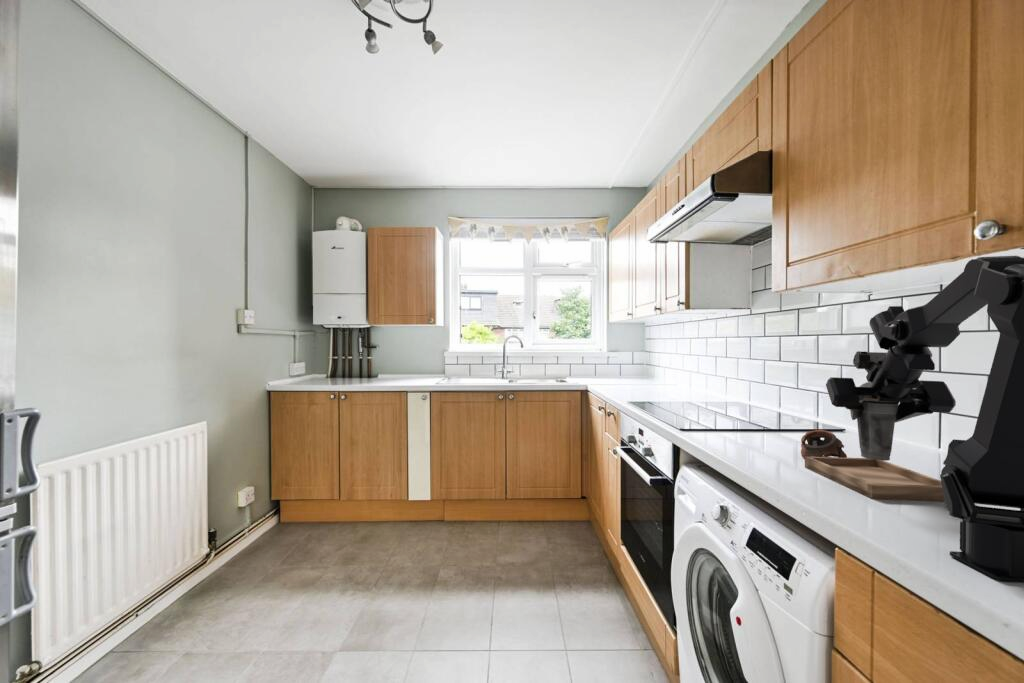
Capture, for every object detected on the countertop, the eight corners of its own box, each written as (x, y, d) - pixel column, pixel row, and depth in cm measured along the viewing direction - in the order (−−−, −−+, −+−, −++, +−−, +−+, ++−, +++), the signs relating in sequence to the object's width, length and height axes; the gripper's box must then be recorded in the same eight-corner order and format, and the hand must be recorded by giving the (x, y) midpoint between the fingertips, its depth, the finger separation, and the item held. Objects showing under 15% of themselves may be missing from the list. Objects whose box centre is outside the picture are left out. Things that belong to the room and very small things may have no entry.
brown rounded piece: (860, 467, 103) (850, 439, 101) (820, 482, 104) (809, 455, 103) (826, 443, 115) (817, 417, 113) (791, 456, 116) (781, 431, 114)
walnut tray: (961, 501, 80) (961, 488, 80) (871, 498, 81) (871, 485, 81) (876, 469, 100) (876, 458, 100) (804, 467, 101) (804, 456, 101)
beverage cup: (844, 452, 92) (844, 359, 93) (881, 453, 92) (881, 359, 92) (868, 461, 85) (869, 360, 85) (909, 463, 84) (909, 360, 85)
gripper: (946, 338, 82) (914, 391, 92) (829, 337, 88) (811, 387, 98) (974, 383, 74) (935, 435, 85) (844, 379, 80) (823, 428, 91)
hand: (872, 419), depth 90 cm, fingers closed on beverage cup, 7 cm apart
